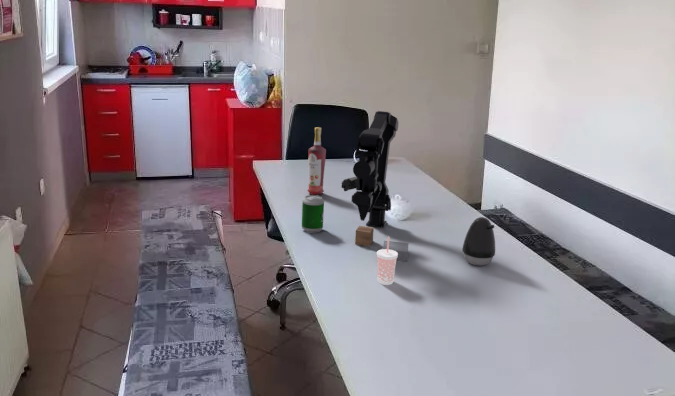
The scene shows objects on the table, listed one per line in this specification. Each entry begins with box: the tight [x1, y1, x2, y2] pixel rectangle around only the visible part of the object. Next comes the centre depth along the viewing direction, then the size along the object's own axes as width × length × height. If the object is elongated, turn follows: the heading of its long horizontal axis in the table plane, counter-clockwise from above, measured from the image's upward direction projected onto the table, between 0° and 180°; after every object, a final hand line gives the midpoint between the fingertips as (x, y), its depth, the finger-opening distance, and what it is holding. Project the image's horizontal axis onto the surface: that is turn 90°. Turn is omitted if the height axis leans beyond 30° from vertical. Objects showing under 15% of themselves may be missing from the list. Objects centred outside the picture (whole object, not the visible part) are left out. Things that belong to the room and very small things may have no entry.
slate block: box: [382, 240, 409, 262], centre depth 203 cm, size 8×8×4 cm
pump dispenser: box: [461, 216, 496, 267], centre depth 199 cm, size 10×10×15 cm
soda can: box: [301, 194, 325, 234], centre depth 221 cm, size 8×8×12 cm
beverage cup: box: [376, 235, 398, 286], centre depth 182 cm, size 6×6×14 cm
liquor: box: [307, 126, 327, 196], centre depth 260 cm, size 7×7×28 cm
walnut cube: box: [354, 225, 375, 247], centre depth 213 cm, size 5×5×5 cm
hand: (365, 216), depth 211 cm, fingers open, 9 cm apart
